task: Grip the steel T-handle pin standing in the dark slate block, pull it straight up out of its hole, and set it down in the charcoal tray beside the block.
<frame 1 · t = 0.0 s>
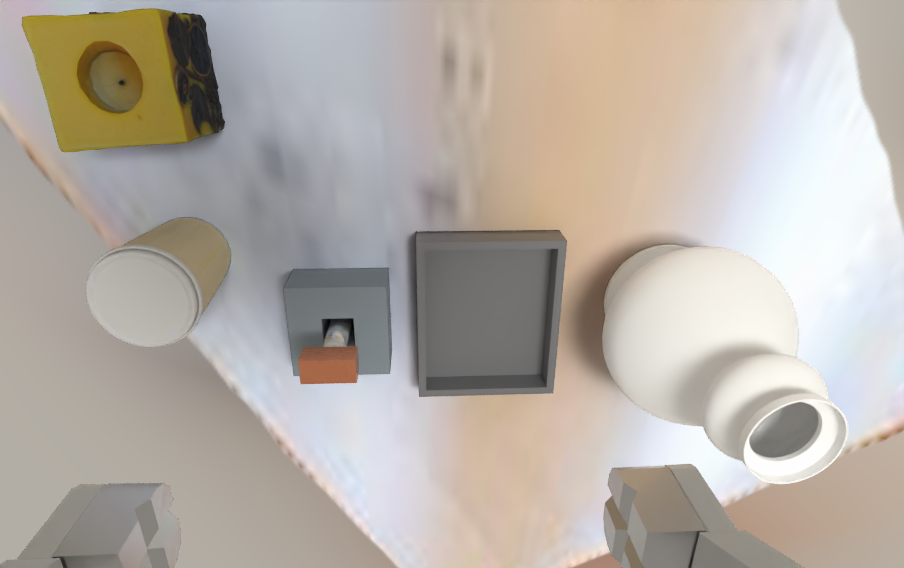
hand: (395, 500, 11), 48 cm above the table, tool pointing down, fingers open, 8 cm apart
pin: (336, 338, 56), in the hitch block
hitch block: (344, 311, 62), on the table
decorative vase: (658, 296, 63), on the table
coffee cup: (193, 251, 58), on the table
tray: (485, 308, 63), on the table
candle: (162, 77, 52), on the table
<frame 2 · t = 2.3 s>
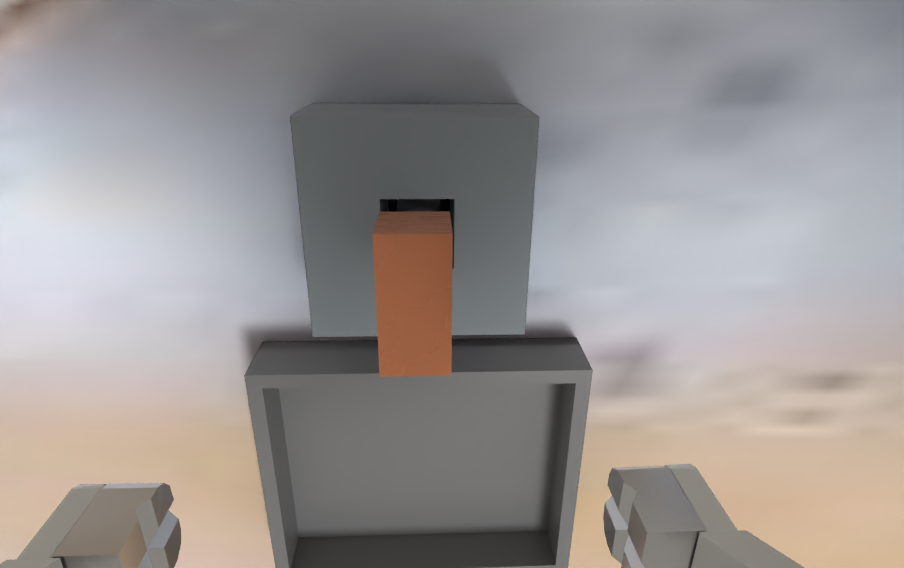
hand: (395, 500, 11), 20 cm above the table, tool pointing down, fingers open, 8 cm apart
pin: (417, 243, 24), in the hitch block
hitch block: (419, 204, 29), on the table
tray: (422, 444, 35), on the table
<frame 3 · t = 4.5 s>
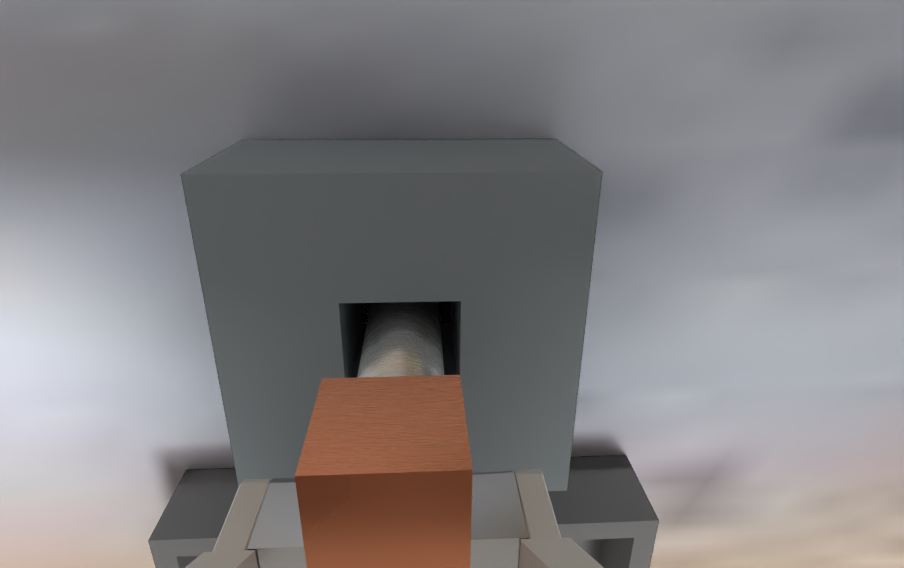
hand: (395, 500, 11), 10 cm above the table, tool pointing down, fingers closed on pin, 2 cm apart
pin: (401, 379, 14), in the hitch block, touching gripper
hitch block: (405, 283, 20), on the table
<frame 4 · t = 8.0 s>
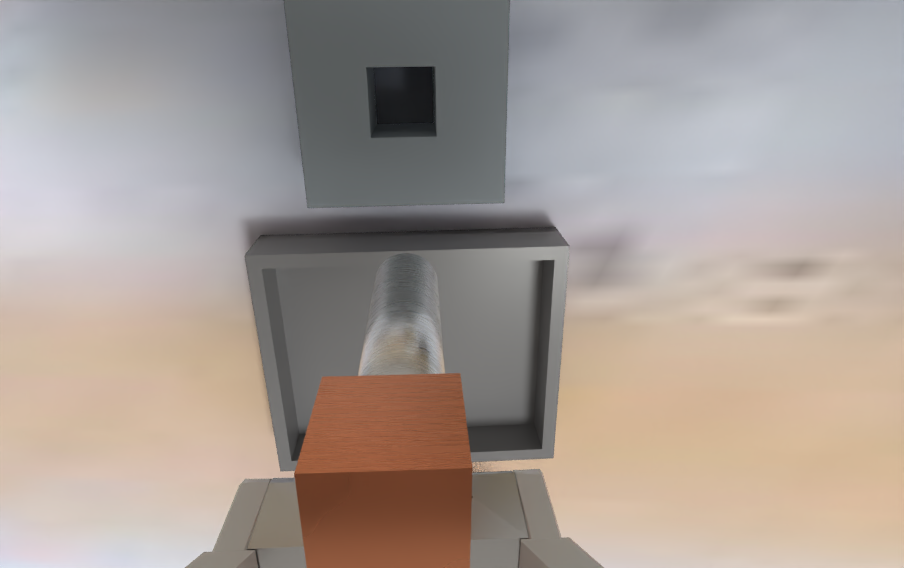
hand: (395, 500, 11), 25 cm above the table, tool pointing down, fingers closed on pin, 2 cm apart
pin: (401, 378, 14), point 21 cm above the table, touching gripper
hitch block: (404, 93, 31), on the table
tray: (414, 339, 38), on the table
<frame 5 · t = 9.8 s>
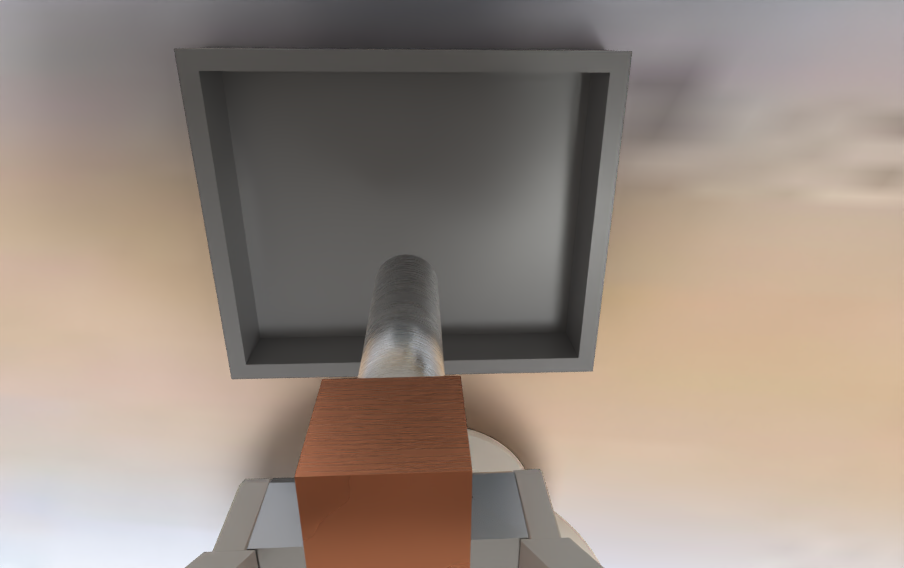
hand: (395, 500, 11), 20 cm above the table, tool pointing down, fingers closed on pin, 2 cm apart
pin: (401, 379, 14), point 15 cm above the table, touching gripper
decorative vase: (434, 502, 36), on the table
tray: (412, 210, 28), on the table
when the fingers open (13 cm above the table, at t = 11.5 s): pin drops 2 cm, resting on tray.
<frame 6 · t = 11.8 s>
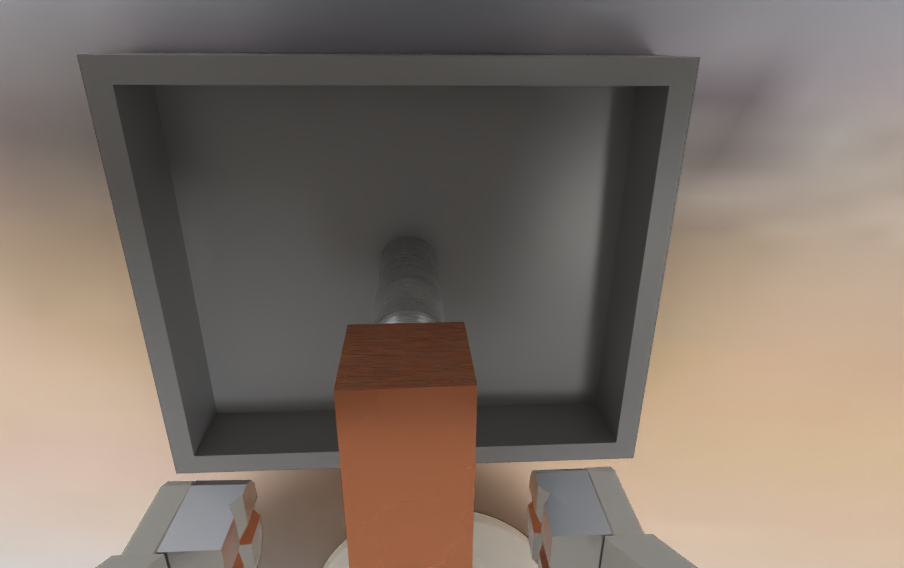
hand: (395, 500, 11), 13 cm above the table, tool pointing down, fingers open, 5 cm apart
pin: (408, 340, 16), in the tray, point 7 cm above the table
tray: (406, 256, 23), on the table
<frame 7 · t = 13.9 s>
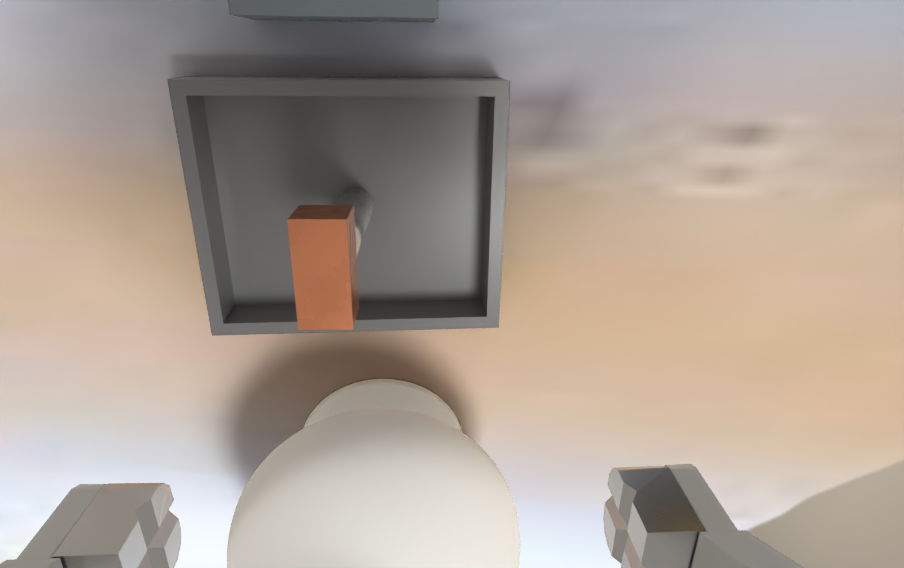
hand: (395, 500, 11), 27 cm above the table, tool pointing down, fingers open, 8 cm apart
pin: (342, 233, 30), in the tray, point 7 cm above the table
decorative vase: (383, 446, 44), on the table
tray: (355, 201, 36), on the table
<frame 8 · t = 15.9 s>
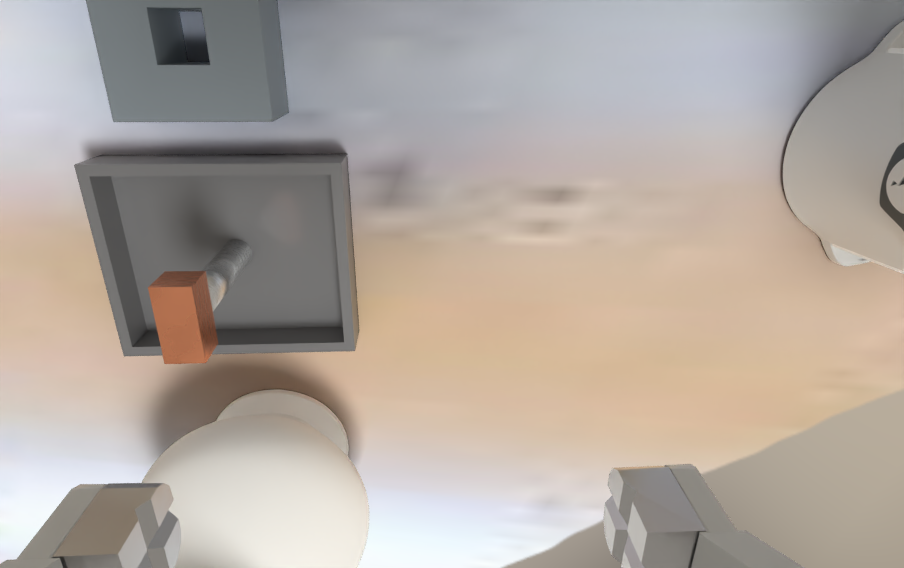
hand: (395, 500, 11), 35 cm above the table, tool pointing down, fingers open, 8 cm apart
pin: (212, 284, 39), in the tray, point 7 cm above the table
hitch block: (207, 37, 39), on the table
decorative vase: (281, 444, 53), on the table
tray: (239, 249, 45), on the table
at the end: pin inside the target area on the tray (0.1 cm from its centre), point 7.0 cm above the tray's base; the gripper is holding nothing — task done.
